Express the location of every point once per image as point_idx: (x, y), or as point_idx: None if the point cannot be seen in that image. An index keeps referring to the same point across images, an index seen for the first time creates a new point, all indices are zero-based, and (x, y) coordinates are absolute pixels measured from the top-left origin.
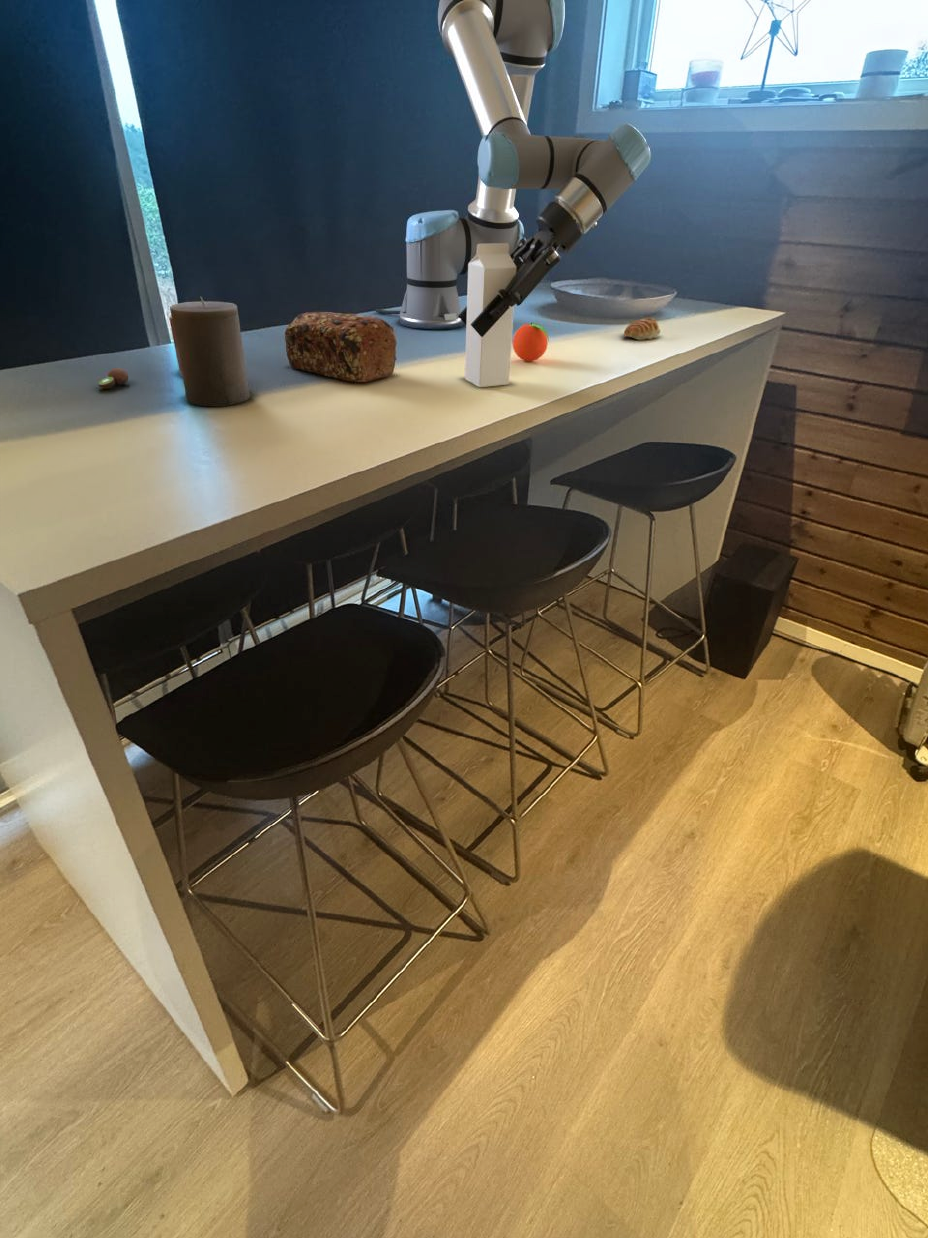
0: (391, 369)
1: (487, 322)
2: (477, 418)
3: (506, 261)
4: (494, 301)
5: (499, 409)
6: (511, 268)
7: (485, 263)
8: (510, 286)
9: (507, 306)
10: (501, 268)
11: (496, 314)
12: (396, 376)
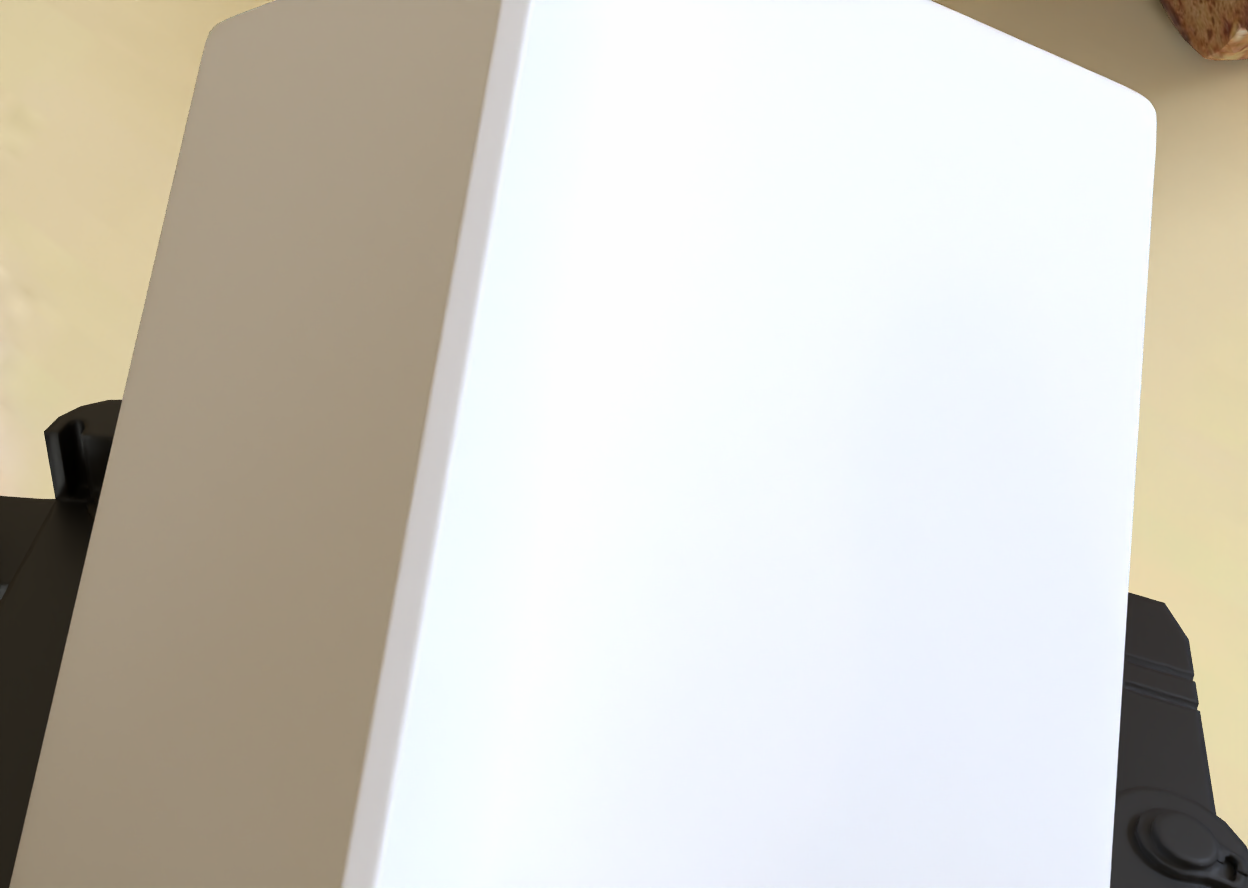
0: (1203, 25)
1: None
2: (48, 101)
3: (182, 811)
4: None
5: (105, 320)
6: (29, 804)
7: (292, 80)
8: (10, 595)
9: None
10: (103, 493)
11: None
12: (1169, 88)
